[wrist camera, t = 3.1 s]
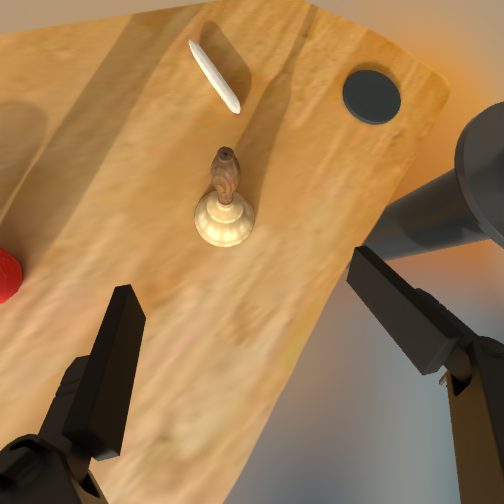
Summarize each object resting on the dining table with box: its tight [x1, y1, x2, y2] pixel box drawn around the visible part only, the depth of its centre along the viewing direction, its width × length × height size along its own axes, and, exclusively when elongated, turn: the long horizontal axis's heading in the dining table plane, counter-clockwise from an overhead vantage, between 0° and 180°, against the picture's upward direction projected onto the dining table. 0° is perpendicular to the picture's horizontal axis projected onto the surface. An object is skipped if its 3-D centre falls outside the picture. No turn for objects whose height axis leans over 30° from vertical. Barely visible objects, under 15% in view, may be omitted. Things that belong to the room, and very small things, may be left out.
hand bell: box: [194, 146, 254, 247], centre depth 25 cm, size 8×8×16 cm
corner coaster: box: [343, 70, 401, 124], centre depth 40 cm, size 10×10×1 cm
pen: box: [189, 39, 240, 113], centre depth 36 cm, size 2×14×2 cm, turn 34°
